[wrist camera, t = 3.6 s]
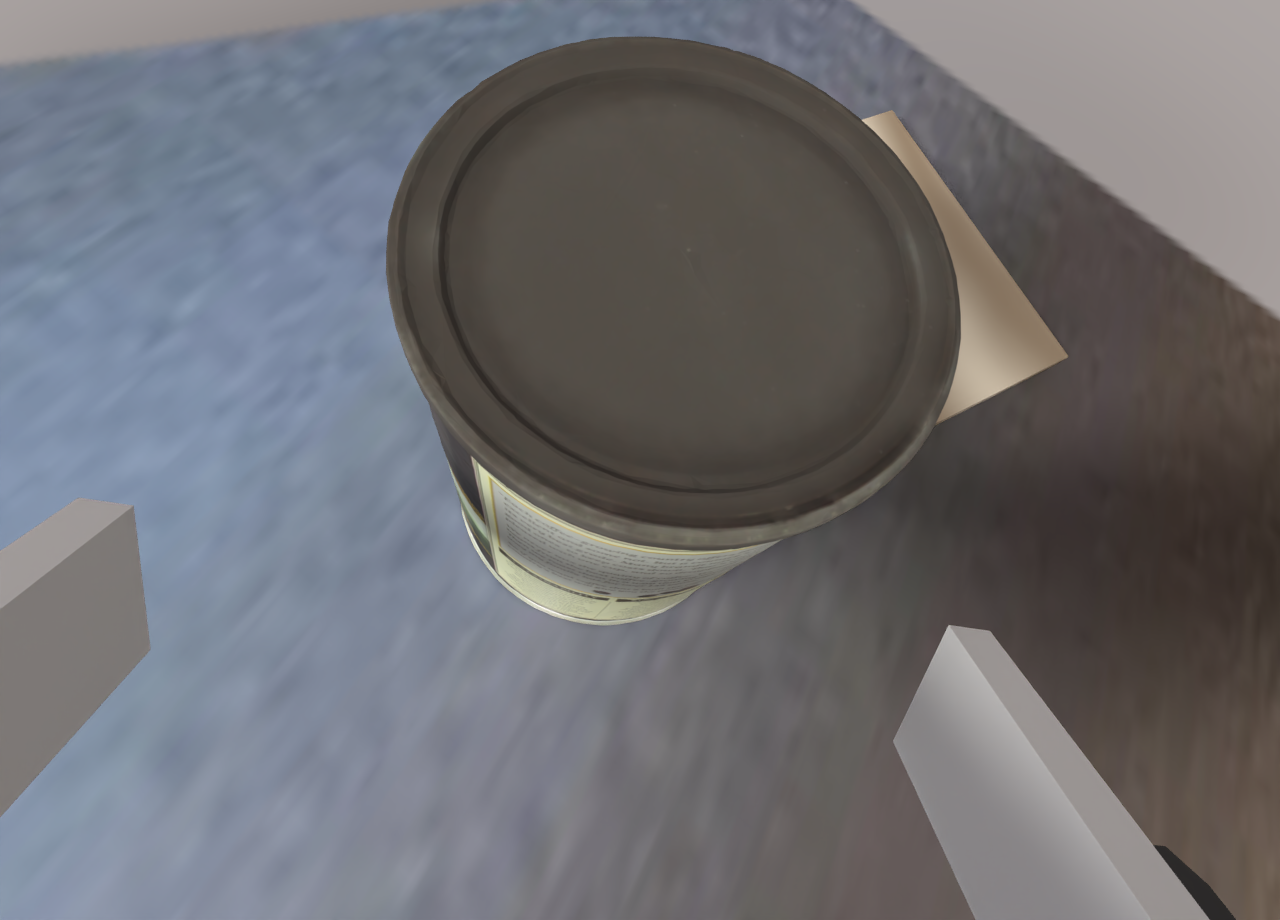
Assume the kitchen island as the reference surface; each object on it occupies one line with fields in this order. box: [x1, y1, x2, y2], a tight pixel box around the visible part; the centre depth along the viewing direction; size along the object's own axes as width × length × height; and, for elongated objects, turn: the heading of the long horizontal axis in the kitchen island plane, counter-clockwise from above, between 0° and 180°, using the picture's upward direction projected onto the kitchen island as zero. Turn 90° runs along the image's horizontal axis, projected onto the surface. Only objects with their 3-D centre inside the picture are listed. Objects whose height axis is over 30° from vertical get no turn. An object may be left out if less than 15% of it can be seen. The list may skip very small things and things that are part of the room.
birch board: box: [862, 110, 1068, 426], centre depth 30 cm, size 14×14×1 cm
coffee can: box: [386, 37, 961, 625], centre depth 19 cm, size 10×10×14 cm
